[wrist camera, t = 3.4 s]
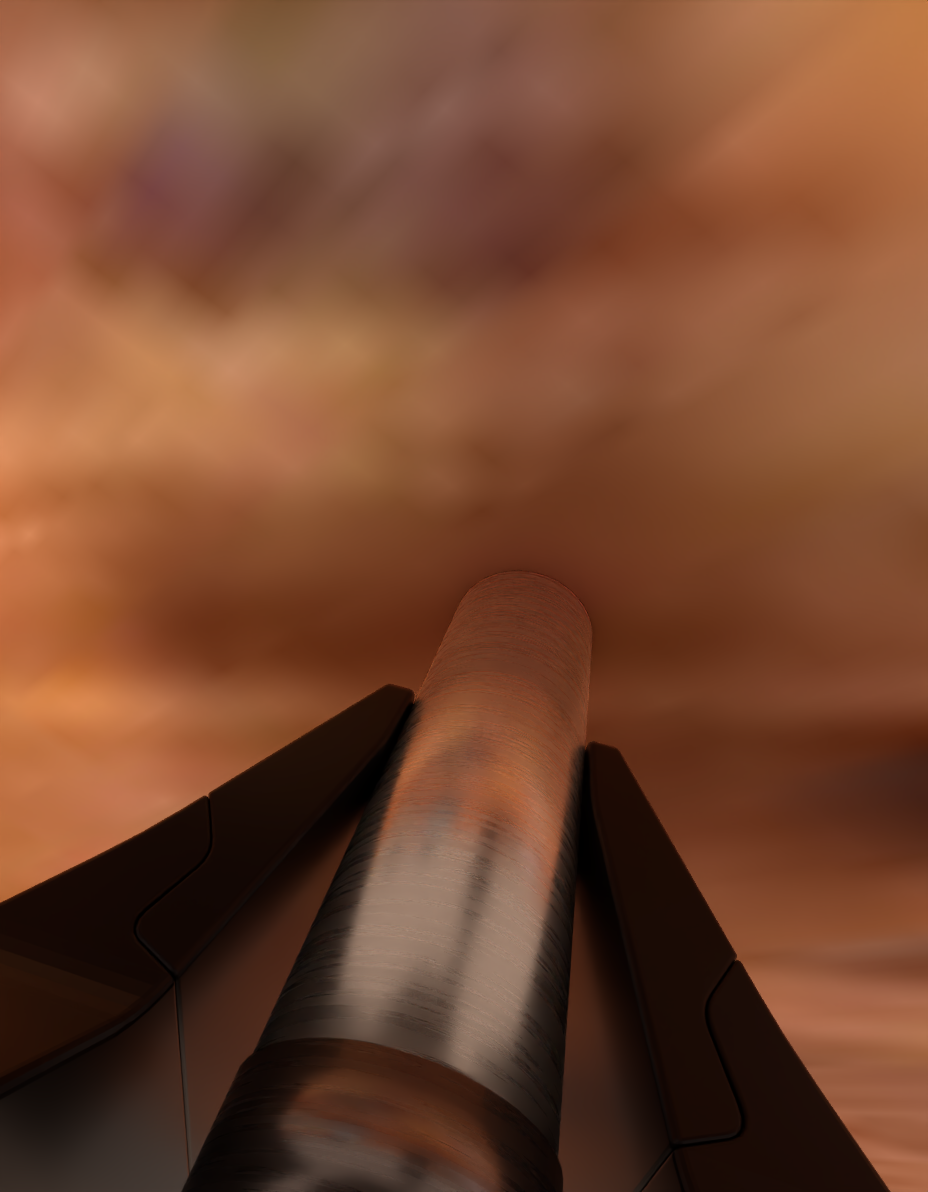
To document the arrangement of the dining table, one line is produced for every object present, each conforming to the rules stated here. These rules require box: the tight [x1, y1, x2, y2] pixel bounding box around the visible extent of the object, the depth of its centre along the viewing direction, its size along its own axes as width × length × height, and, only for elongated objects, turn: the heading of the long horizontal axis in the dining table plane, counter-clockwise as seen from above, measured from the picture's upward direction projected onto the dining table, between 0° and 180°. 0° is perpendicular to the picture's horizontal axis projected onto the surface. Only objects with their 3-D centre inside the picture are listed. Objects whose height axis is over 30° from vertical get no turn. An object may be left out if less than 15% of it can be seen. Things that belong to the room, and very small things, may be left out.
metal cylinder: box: [181, 571, 592, 1192], centre depth 8 cm, size 3×3×9 cm
